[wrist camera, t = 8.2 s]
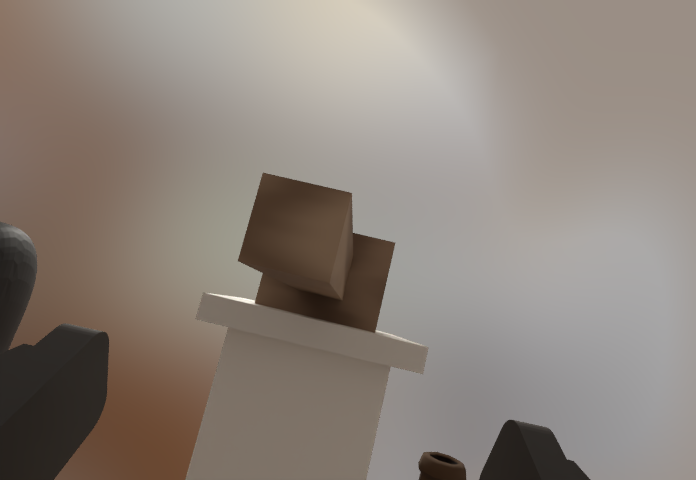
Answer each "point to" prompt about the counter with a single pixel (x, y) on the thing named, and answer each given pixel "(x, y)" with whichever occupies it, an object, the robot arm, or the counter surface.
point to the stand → (293, 395)
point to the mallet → (314, 254)
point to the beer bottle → (440, 467)
